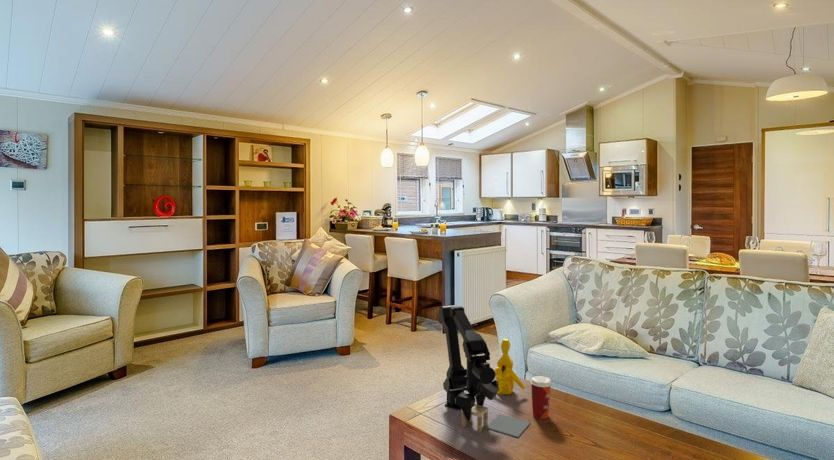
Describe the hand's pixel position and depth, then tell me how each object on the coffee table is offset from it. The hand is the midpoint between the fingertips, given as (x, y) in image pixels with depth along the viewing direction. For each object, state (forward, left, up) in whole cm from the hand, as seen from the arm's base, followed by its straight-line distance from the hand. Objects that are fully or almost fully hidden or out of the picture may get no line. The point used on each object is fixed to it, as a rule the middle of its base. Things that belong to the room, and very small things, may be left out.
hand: (474, 415), depth 164 cm
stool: (0, 0, -4) cm, 4 cm away
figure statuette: (-3, +33, -4) cm, 34 cm away
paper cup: (+17, +21, -4) cm, 27 cm away
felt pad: (+10, +7, -4) cm, 13 cm away
